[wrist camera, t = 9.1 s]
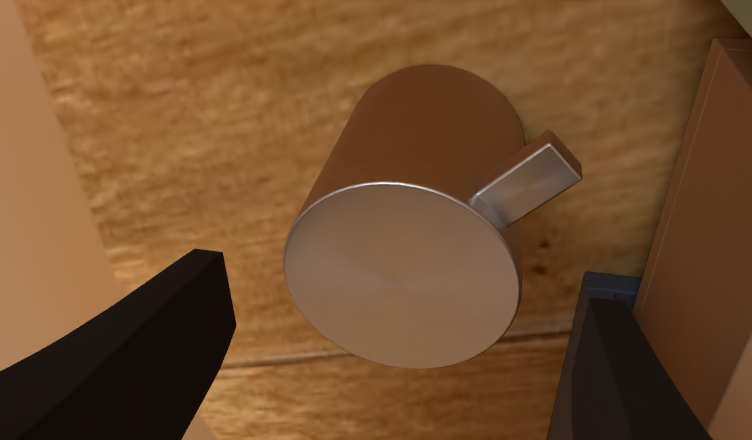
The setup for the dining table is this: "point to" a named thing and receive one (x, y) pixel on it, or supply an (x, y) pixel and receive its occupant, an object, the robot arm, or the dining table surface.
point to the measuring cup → (422, 220)
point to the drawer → (709, 248)
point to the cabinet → (591, 287)
